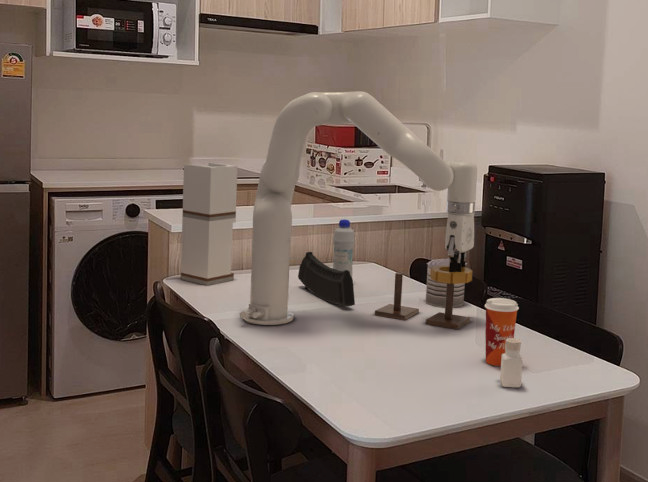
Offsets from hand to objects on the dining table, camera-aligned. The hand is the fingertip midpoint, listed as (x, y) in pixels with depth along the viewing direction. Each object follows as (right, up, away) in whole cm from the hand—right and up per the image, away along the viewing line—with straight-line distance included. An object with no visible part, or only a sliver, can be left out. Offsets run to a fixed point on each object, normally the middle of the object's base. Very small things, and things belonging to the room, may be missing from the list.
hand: (456, 275), depth 220 cm
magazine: (-37, -8, +17) cm, 42 cm away
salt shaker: (+9, -17, -48) cm, 52 cm away
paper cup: (+8, -16, -33) cm, 38 cm away
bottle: (-34, -7, +36) cm, 50 cm away
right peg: (-2, -12, -3) cm, 13 cm away
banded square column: (-75, -5, +31) cm, 81 cm away
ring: (-2, 0, -4) cm, 4 cm away
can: (-3, -10, +19) cm, 22 cm away
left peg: (-16, -11, +3) cm, 20 cm away
